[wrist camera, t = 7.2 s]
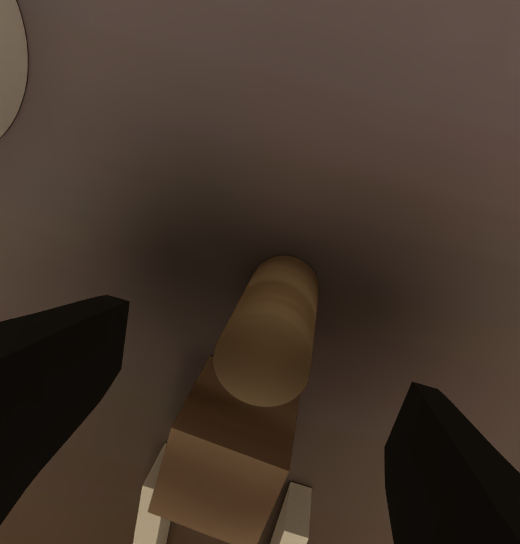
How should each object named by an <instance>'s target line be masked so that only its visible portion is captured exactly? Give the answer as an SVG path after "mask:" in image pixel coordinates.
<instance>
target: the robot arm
mask: <svg viewBox="0 0 520 544" xmlns="http://www.w3.org/2000/svg"><path fill="white" fill-rule="evenodd" d="M129 302H130V301H126V300H123V299H119V298H116V297H112V296H109V295H104V296H98V297H94V298H90V299H86V300H82V301H78V302H75V303H71V304H67V305H64V306H60V307H56V308H53V309H49V310H46V311H42V312H38V313H34V314H31V315H26V316H22V317H18V318H14V319H9V320H5V321H1V322H0V525H1V523H2V522H3V521H4V519H5V518H6V516H7V515H8V514H9V512H10V511H11V509H12V508H13V507H14V505H15V504H16V502H17V501H18V499H19V498H20V497H21V495H22V494H23V492H24V491H25V490H26V488H27V487H28V486H29V485H30V483H31V482H32V481H33V479H34V478H35V477H36V476H37V474H38V473H39V472H40V471H41V470H42V468H43V467H44V466H45V465H46V464H47V463H48V461H49V460H50V459H51V458H52V457H53V456H54V455H55V453H56V452H57V451H58V450H59V449H60V448H61V446H62V445H63V444H64V443H65V442H66V441H67V440H68V438H69V437H70V436H71V435H72V434H73V433H74V431H75V430H76V429H77V428H78V427H79V426H80V425H81V423H82V422H83V421H84V420H85V419H86V417H87V416H88V415H89V414H90V413H91V412H92V410H93V409H94V408H95V407H96V406H97V404H98V403H99V402H100V401H101V399H102V398H103V396H104V395H105V393H106V392H107V390H108V389H109V387H110V386H111V384H112V383H113V381H114V380H115V378H116V376H117V375H118V373H119V372H120V370H121V366H122V358H123V350H124V342H125V334H126V326H127V318H128V310H129ZM385 489H386V496H387V503H388V509H389V516H390V523H391V529H392V535H393V541H394V544H520V473H519V472H518V471H517V470H516V469H515V468H514V467H513V466H512V465H511V464H510V463H509V462H508V461H507V460H506V459H505V458H504V457H503V456H502V455H501V454H500V453H499V452H498V451H497V450H496V449H495V448H494V447H493V446H492V445H491V444H490V443H489V442H488V441H487V439H486V438H485V437H484V436H483V435H482V434H481V433H480V432H479V431H478V430H477V429H476V428H475V427H474V426H473V425H472V423H471V422H470V421H469V420H468V419H467V418H466V417H465V416H464V415H463V414H462V413H461V412H460V411H459V410H458V408H457V407H456V406H455V405H454V404H453V403H452V402H451V401H450V400H449V399H448V398H447V397H446V396H445V395H444V394H443V393H442V392H440V391H439V390H438V389H436V388H432V387H429V386H425V385H422V384H418V383H415V382H412V383H411V386H410V388H409V390H408V393H407V395H406V397H405V400H404V402H403V405H402V407H401V409H400V412H399V414H398V416H397V419H396V421H395V424H394V426H393V428H392V431H391V433H390V436H389V438H388V440H387V443H386V445H385Z"/></svg>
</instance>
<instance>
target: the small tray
mask: <svg viewBox="0 0 520 544" xmlns="http://www.w3.org/2000/svg"><path fill="white" fill-rule="evenodd" d="M166 445H167V443H165V444H164V446H163V448H162V450H161V451H160V453H159V455H158V457H157V459H156V461H155V463H154V465H153V467H152V469H151V470H150V472H149V474H148V476H147V478H146V480H145V482H144V484H143V486H142V492H141V498H140V504H139V510H138V516H137V522H136V528H135V535H134V541H133V544H166V542H167V537H168V532H169V527H170V523H171V521H170V520H167V519H164V518H162V517H159V516H156V515H154V514H151V513H149V512H148V508H149V505H150V501H151V498H152V494H153V491H154V487H155V483H156V480H157V476H158V473H159V469H160V466H161V462H162V459H163V455H164V452H165V448H166ZM311 495H312V488H309V487H306V486H303V485H300V484H296V483H293V482H290V485H289V488H288V491H287V494H286V497H285V500H284V503H283V506H282V509H281V512H280V515H279V518H278V521H277V524H276V527H275V530H274V533H273V536H272V539H271V542H270V544H307V541H308V539H309V525H310V510H311Z"/></svg>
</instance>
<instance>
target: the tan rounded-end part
mask: <svg viewBox="0 0 520 544" xmlns="http://www.w3.org/2000/svg"><path fill="white" fill-rule="evenodd" d="M318 295H319V283H318V279H317V277H316V274H315V273H314V271H313V270H312V269H311V267H310V266H309V265H308V264H306V263H305V262H304V261H302V260H300V259H298V258H296V257H292V256H286V255H281V256H275V257H272V258H269V259H267V260H265V261H264V262H262V263H261V264H260V265H259V266H258V267H257V269H256V270H255V272H254V274H253V276H252V278H251V279H250V281H249V283H248V285H247V287H246V289H245V291H244V293H243V295H242V296H241V298H240V300H239V302H238V304H237V306H236V308H235V310H234V312H233V313H232V315H231V317H230V319H229V321H228V323H227V325H226V327H225V329H224V331H223V332H222V334H221V336H220V338H219V340H218V342H217V344H216V346H215V349H214V354H213V357H212V356H209V358H208V359H207V361H206V363H205V365H204V367H203V369H202V371H201V373H200V375H199V376H198V378H197V380H196V382H195V384H194V386H193V388H192V390H191V391H190V393H189V395H188V397H187V399H186V401H185V403H184V405H183V407H182V408H181V410H180V412H179V414H178V416H177V418H176V420H175V422H174V423H173V425H172V427H171V430H170V434H169V438H168V441H167V445H166V448H165V452H164V455H163V459H162V462H161V466H160V469H159V473H158V476H157V480H156V483H155V487H154V491H153V494H152V498H151V501H150V505H149V508H148V512H149V513H151V514H154V515H156V516H159V517H162V518H164V519H167V520H170V521H172V522H175V523H177V524H180V525H183V526H185V527H188V528H190V529H193V530H196V531H198V532H201V533H204V534H206V535H209V536H211V537H214V538H217V539H219V540H222V541H224V542H227V543H230V544H258V541H259V539H260V537H261V535H262V532H263V530H264V528H265V525H266V523H267V521H268V519H269V516H270V514H271V512H272V510H273V507H274V505H275V503H276V500H277V498H278V496H279V494H280V491H281V489H282V487H283V484H284V482H285V480H286V478H287V475H288V473H289V470H290V462H291V455H292V447H293V440H294V433H295V425H296V418H297V410H298V403H299V396H300V393H301V392H302V391H303V390H304V388H305V387H306V385H307V383H308V380H309V377H310V371H311V362H312V352H313V343H314V333H315V324H316V314H317V305H318Z"/></svg>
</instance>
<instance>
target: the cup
mask: <svg viewBox="0 0 520 544" xmlns="http://www.w3.org/2000/svg"><path fill="white" fill-rule="evenodd" d="M27 72H28V52H27V41H26V35H25V29H24V25H23V21H22V17H21V13H20V10H19V7H18V4H17V1H16V0H0V137H1V136H2V135H3V134H4V133H5V132H6V131H7V129H8V128H9V127H10V125H11V124H12V122H13V121H14V119H15V117H16V115H17V113H18V111H19V108H20V105H21V103H22V100H23V96H24V92H25V87H26V82H27Z"/></svg>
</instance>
